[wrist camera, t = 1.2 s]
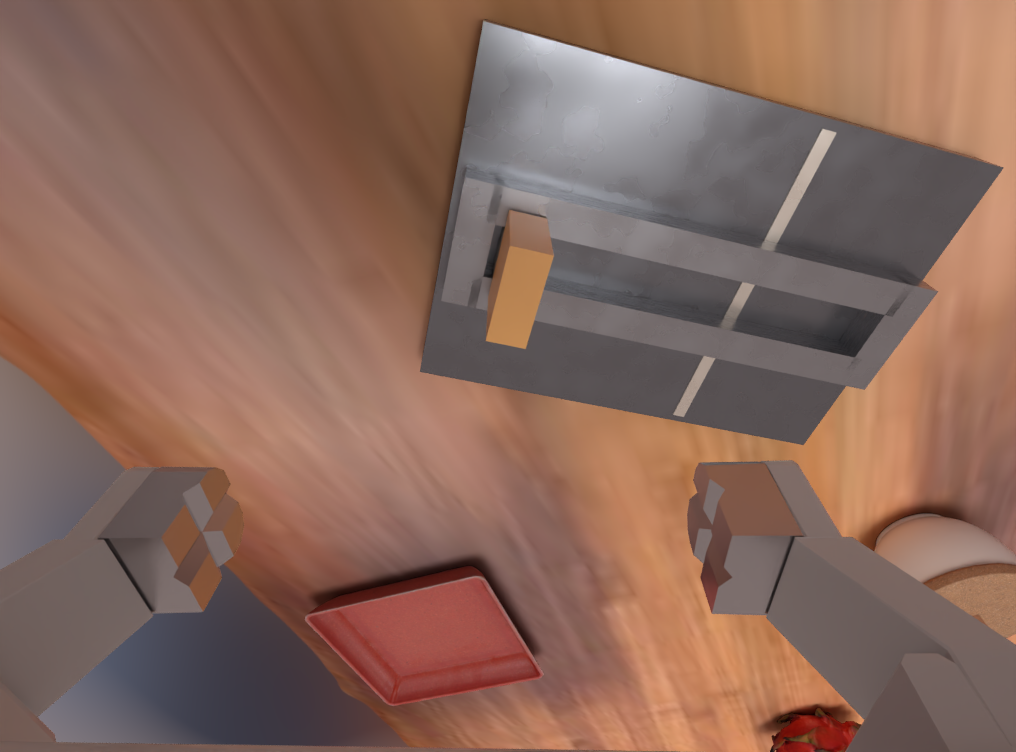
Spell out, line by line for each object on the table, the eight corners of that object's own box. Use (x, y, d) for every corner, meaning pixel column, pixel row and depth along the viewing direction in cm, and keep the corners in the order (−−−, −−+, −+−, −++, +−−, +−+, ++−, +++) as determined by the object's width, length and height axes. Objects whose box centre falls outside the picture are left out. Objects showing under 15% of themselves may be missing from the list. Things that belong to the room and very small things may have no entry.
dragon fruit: (858, 698, 70) (755, 697, 73) (877, 717, 62) (761, 715, 65) (876, 778, 67) (768, 773, 70) (899, 808, 59) (776, 802, 63)
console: (423, 355, 38) (416, 389, 35) (484, 18, 27) (482, 23, 24) (791, 427, 42) (816, 464, 39) (977, 158, 31) (1033, 178, 28)
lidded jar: (930, 579, 53) (1002, 679, 45) (826, 566, 52) (882, 667, 44) (1006, 502, 47) (1105, 603, 39) (891, 486, 46) (968, 587, 38)
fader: (488, 280, 33) (485, 341, 27) (508, 197, 30) (509, 245, 24) (522, 287, 33) (525, 349, 27) (544, 206, 30) (553, 255, 25)
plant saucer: (309, 587, 54) (299, 619, 51) (483, 545, 50) (482, 577, 48) (394, 677, 64) (389, 707, 61) (544, 646, 60) (546, 677, 58)
